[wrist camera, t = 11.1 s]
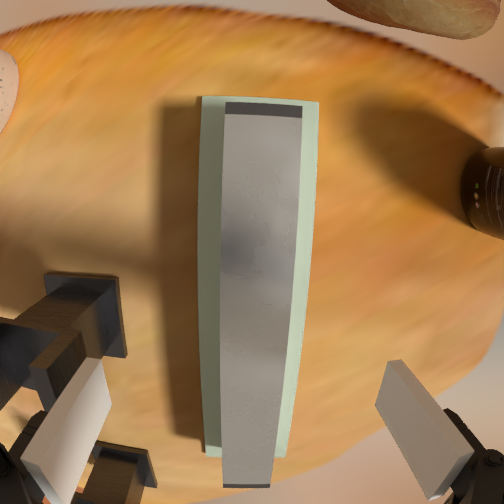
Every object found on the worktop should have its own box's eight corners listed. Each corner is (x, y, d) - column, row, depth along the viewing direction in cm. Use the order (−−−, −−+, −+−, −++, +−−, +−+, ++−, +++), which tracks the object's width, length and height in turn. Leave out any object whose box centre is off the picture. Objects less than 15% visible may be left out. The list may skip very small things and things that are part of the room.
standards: (103, 473, 25) (77, 543, 15) (45, 272, 20) (-47, 329, 10) (159, 484, 25) (143, 561, 15) (121, 277, 20) (41, 353, 10)
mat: (206, 453, 24) (206, 456, 24) (202, 97, 18) (202, 96, 17) (284, 454, 24) (285, 457, 24) (317, 103, 18) (318, 102, 18)
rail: (224, 448, 23) (223, 487, 19) (229, 118, 18) (225, 101, 13) (265, 448, 24) (269, 487, 19) (288, 121, 18) (302, 106, 13)
